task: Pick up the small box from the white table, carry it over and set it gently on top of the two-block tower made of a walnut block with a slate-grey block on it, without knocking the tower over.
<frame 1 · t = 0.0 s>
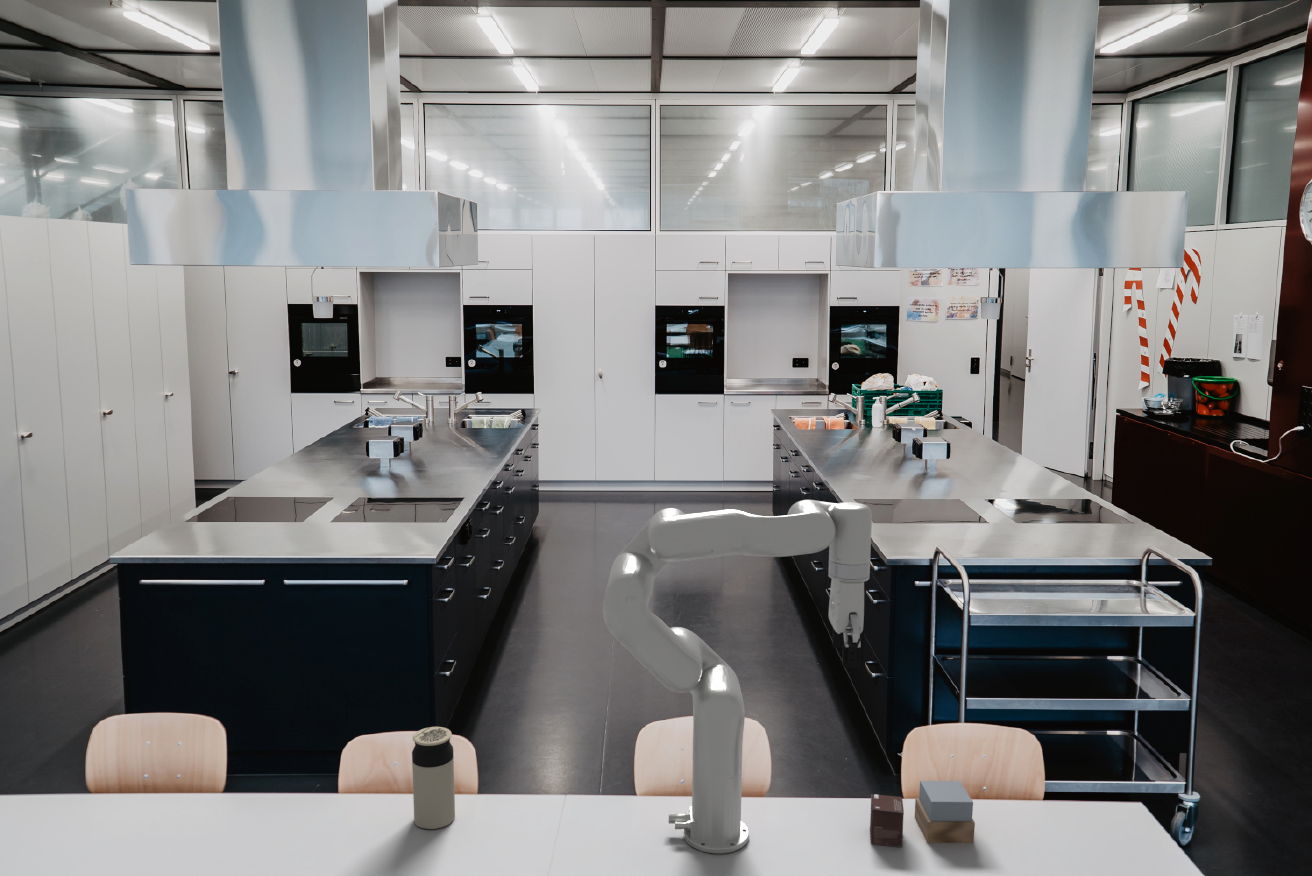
hand: (845, 656, 179), 37 cm above the table, tool pointing down, fingers open, 9 cm apart
travel mug: (434, 820, 190), on the table
box: (885, 838, 185), on the table
tower top: (944, 809, 187), point 4 cm above the table, touching tower base
tower base: (943, 830, 188), on the table, touching tower top
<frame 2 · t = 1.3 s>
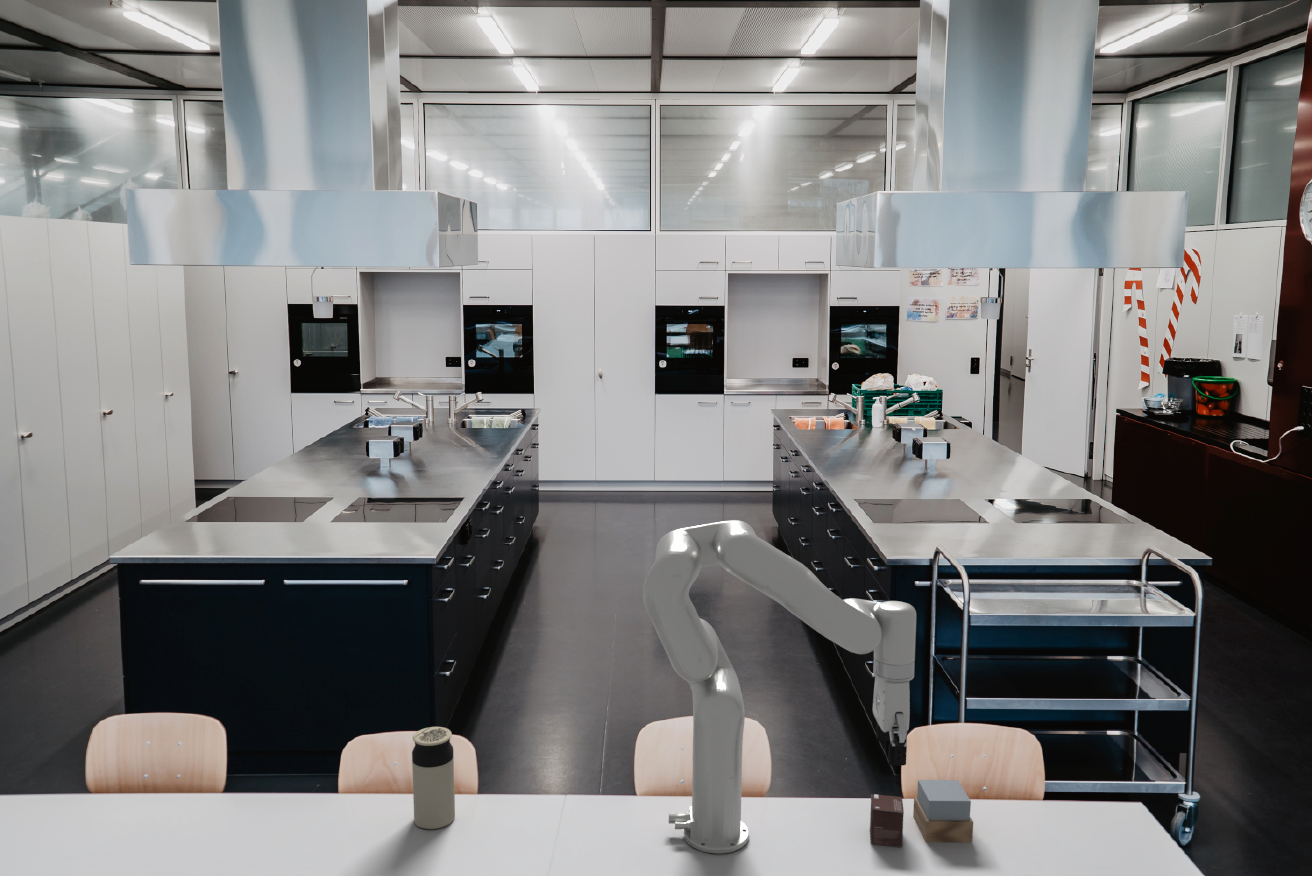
hand: (890, 752, 182), 18 cm above the table, tool pointing down, fingers open, 9 cm apart
nothing on the table moved.
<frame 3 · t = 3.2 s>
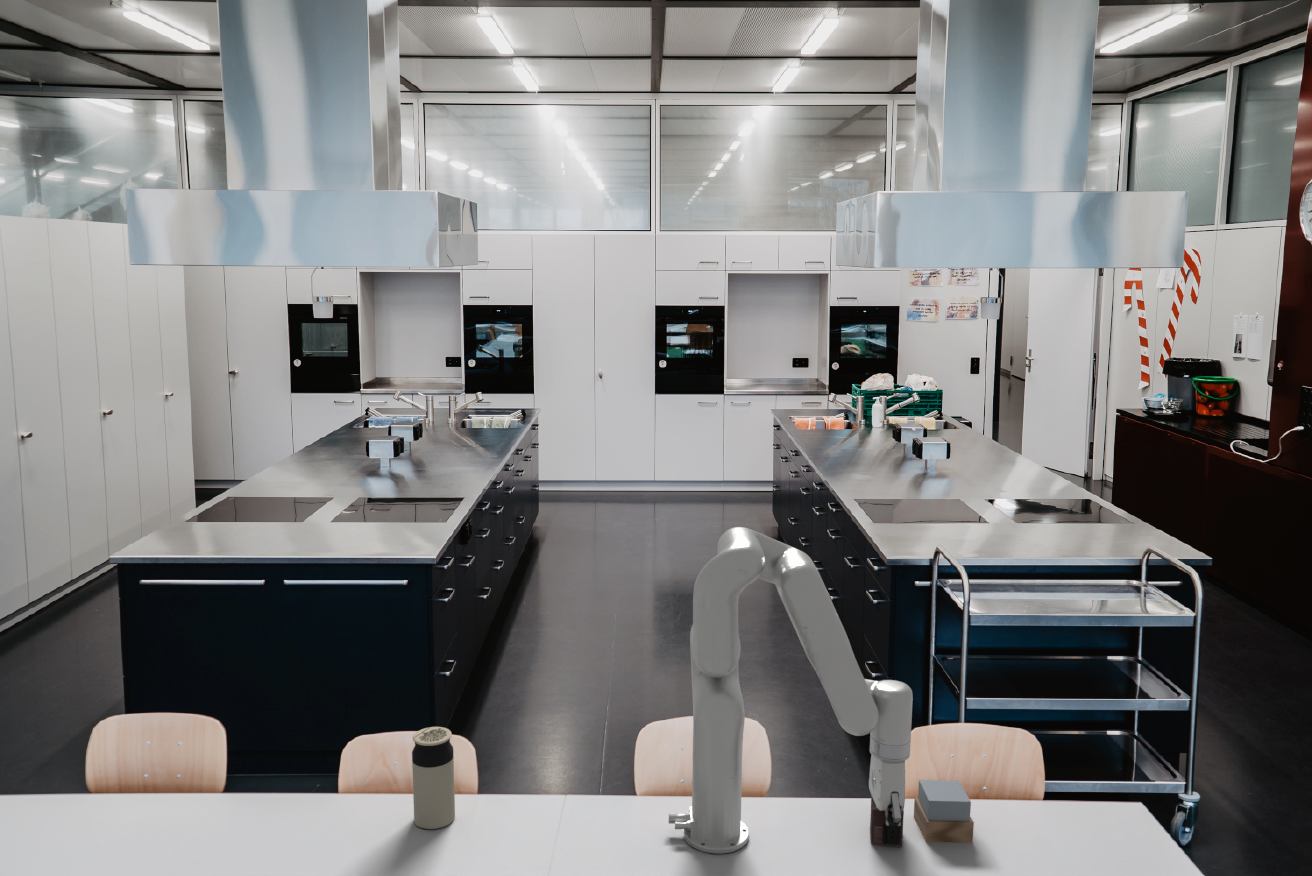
hand: (886, 831, 185), 1 cm above the table, tool pointing down, fingers closed on box, 6 cm apart
box: (885, 838, 185), on the table, touching gripper
everything else where it was.
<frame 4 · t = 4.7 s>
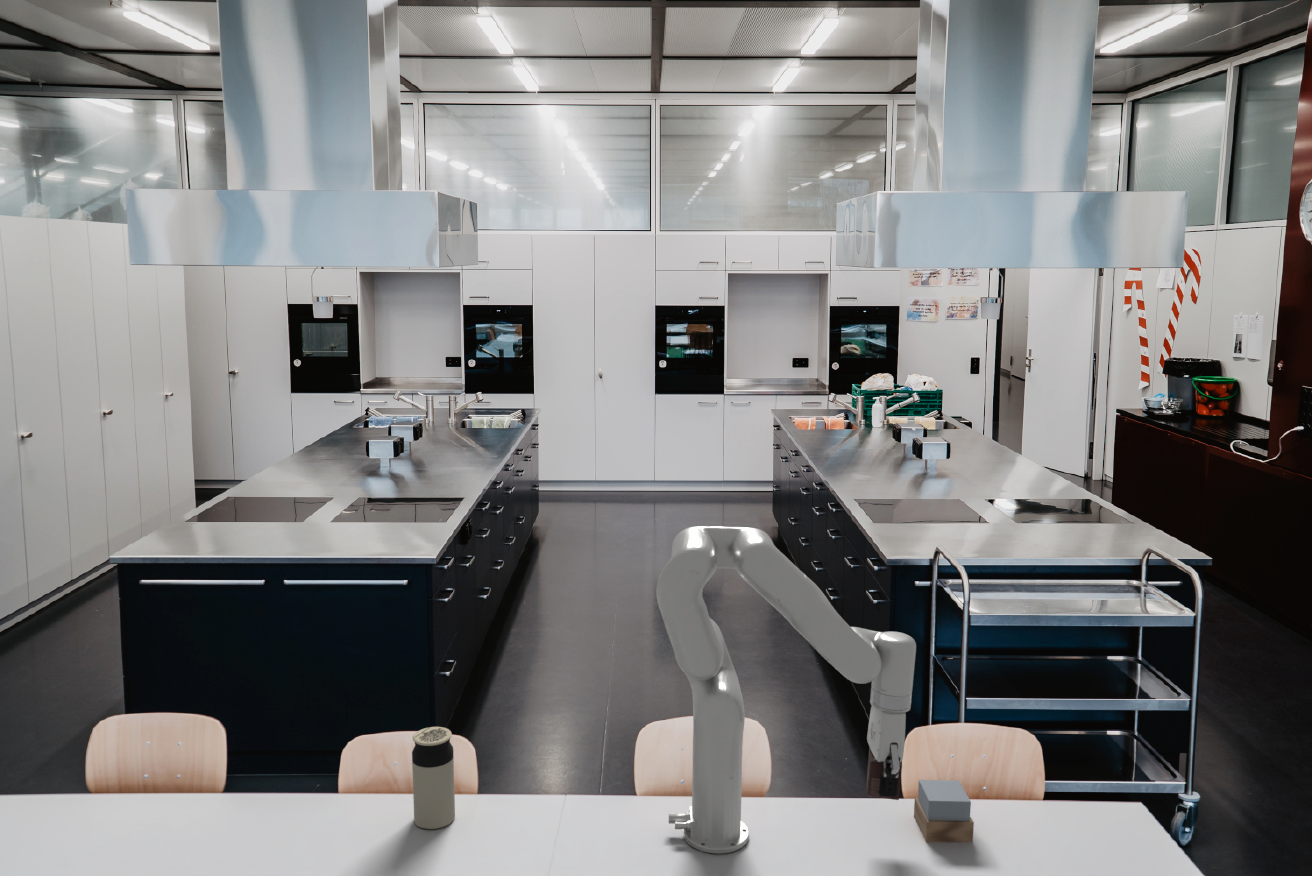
hand: (882, 784, 183), 11 cm above the table, tool pointing down, fingers closed on box, 6 cm apart
box: (882, 791, 183), point 9 cm above the table, touching gripper
everything else where it was.
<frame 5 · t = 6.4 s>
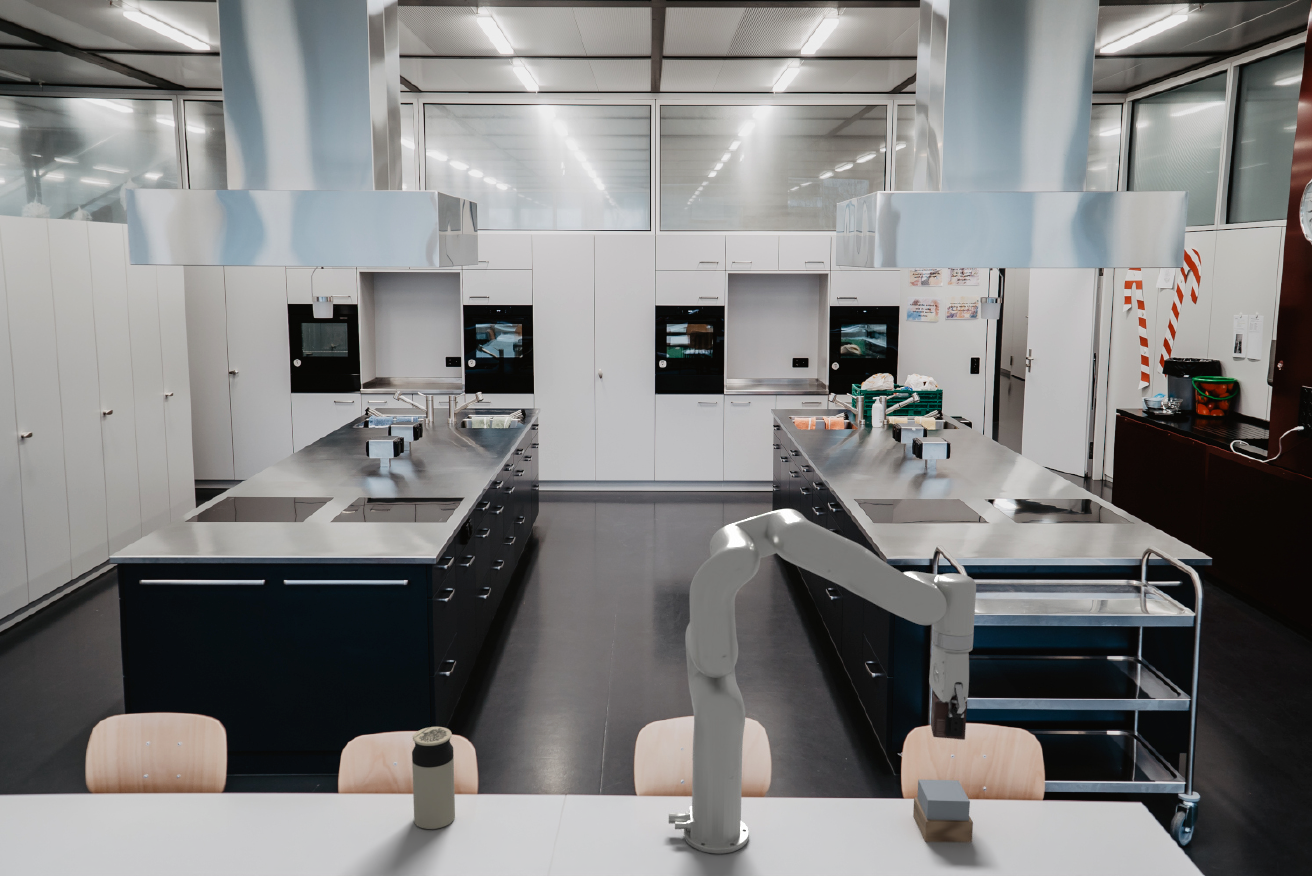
hand: (947, 725, 184), 22 cm above the table, tool pointing down, fingers closed on box, 6 cm apart
box: (947, 733, 185), point 20 cm above the table, touching gripper
everything else where it was.
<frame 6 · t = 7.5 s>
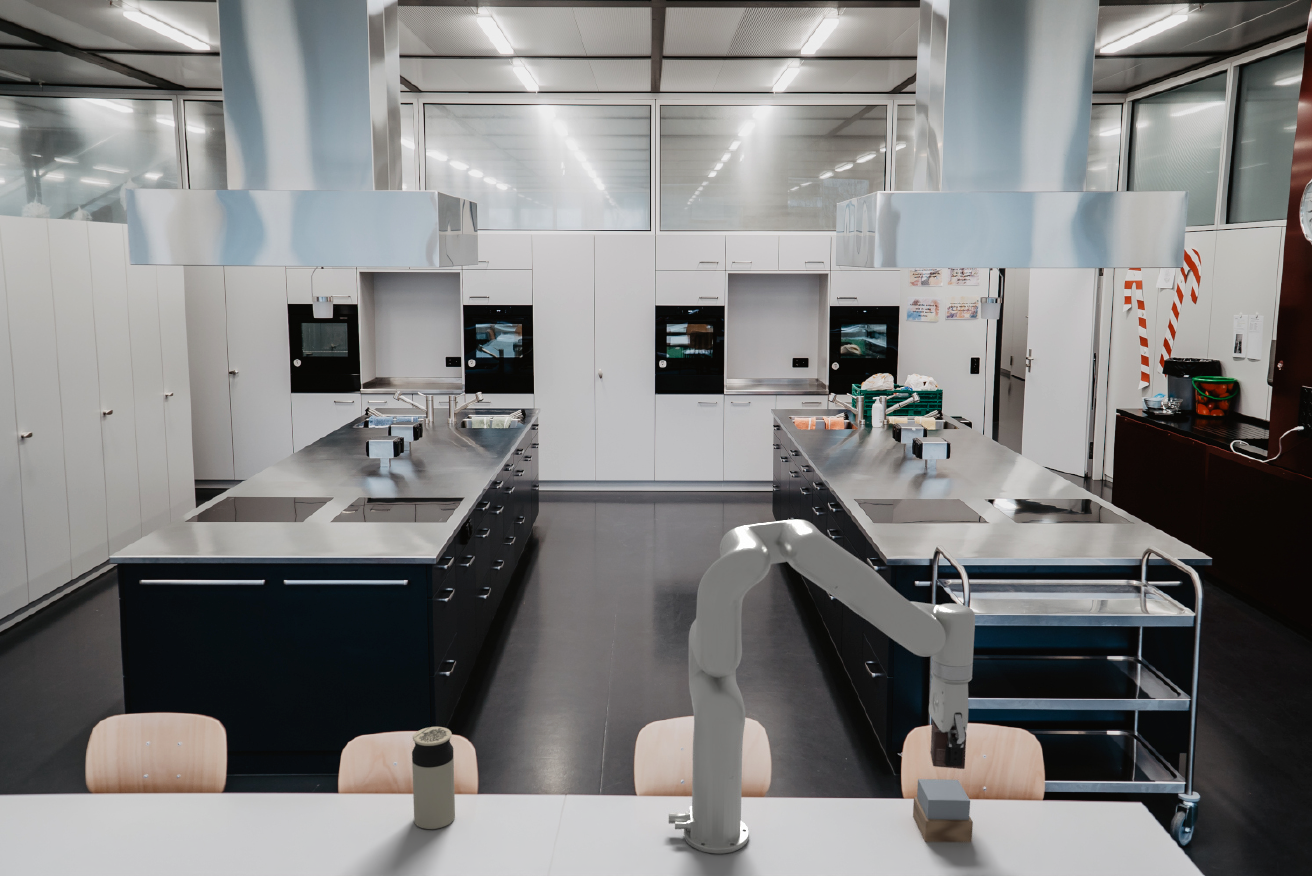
hand: (947, 754, 185), 16 cm above the table, tool pointing down, fingers closed on box, 6 cm apart
box: (947, 762, 186), point 14 cm above the table, touching gripper
everything else where it was.
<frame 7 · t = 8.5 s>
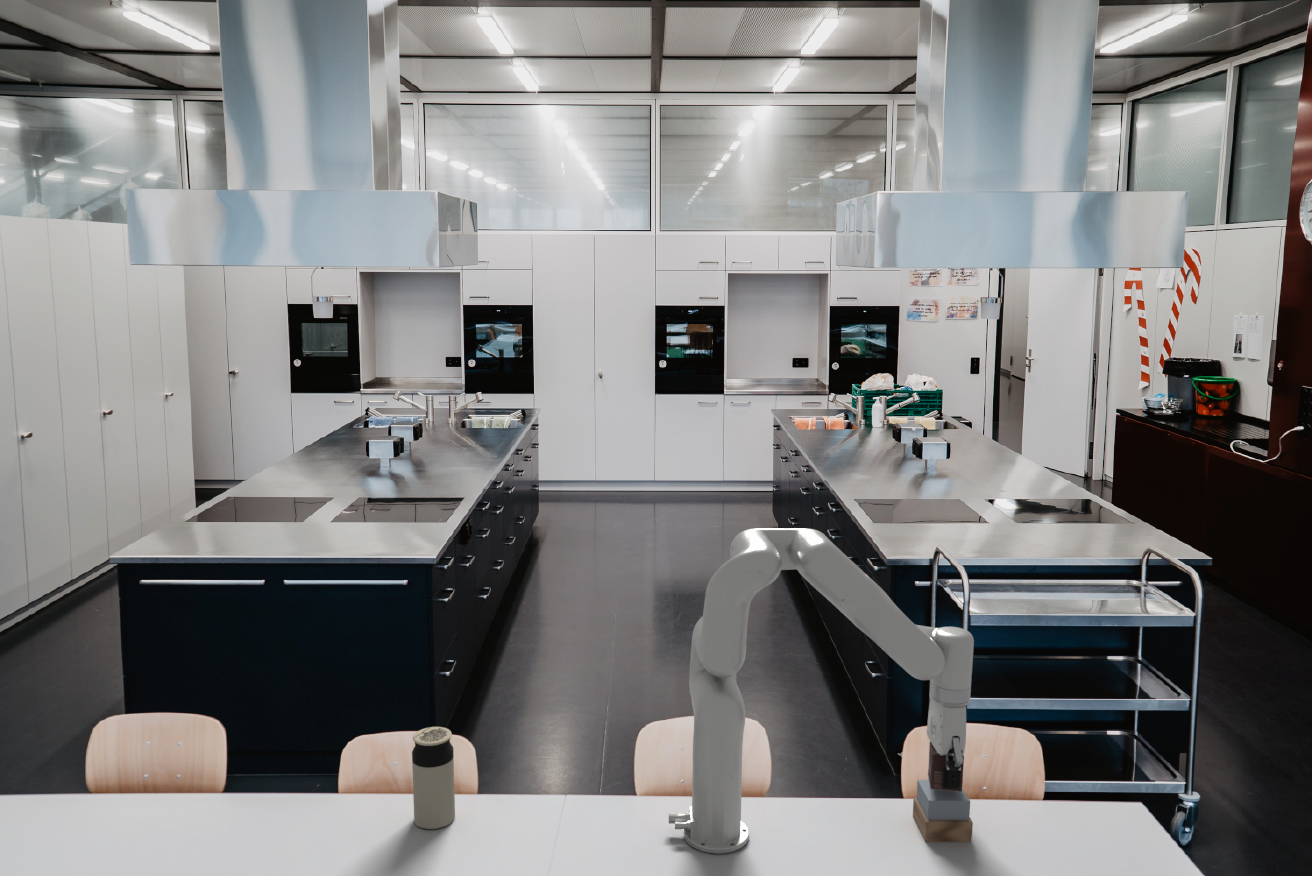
hand: (944, 777, 186), 11 cm above the table, tool pointing down, fingers closed on box, 6 cm apart
box: (944, 784, 186), point 10 cm above the table, touching gripper
everything else where it was.
when the fingers open (11 cm above the table, at t = 9.2 s): box drops 1 cm, resting on tower top.
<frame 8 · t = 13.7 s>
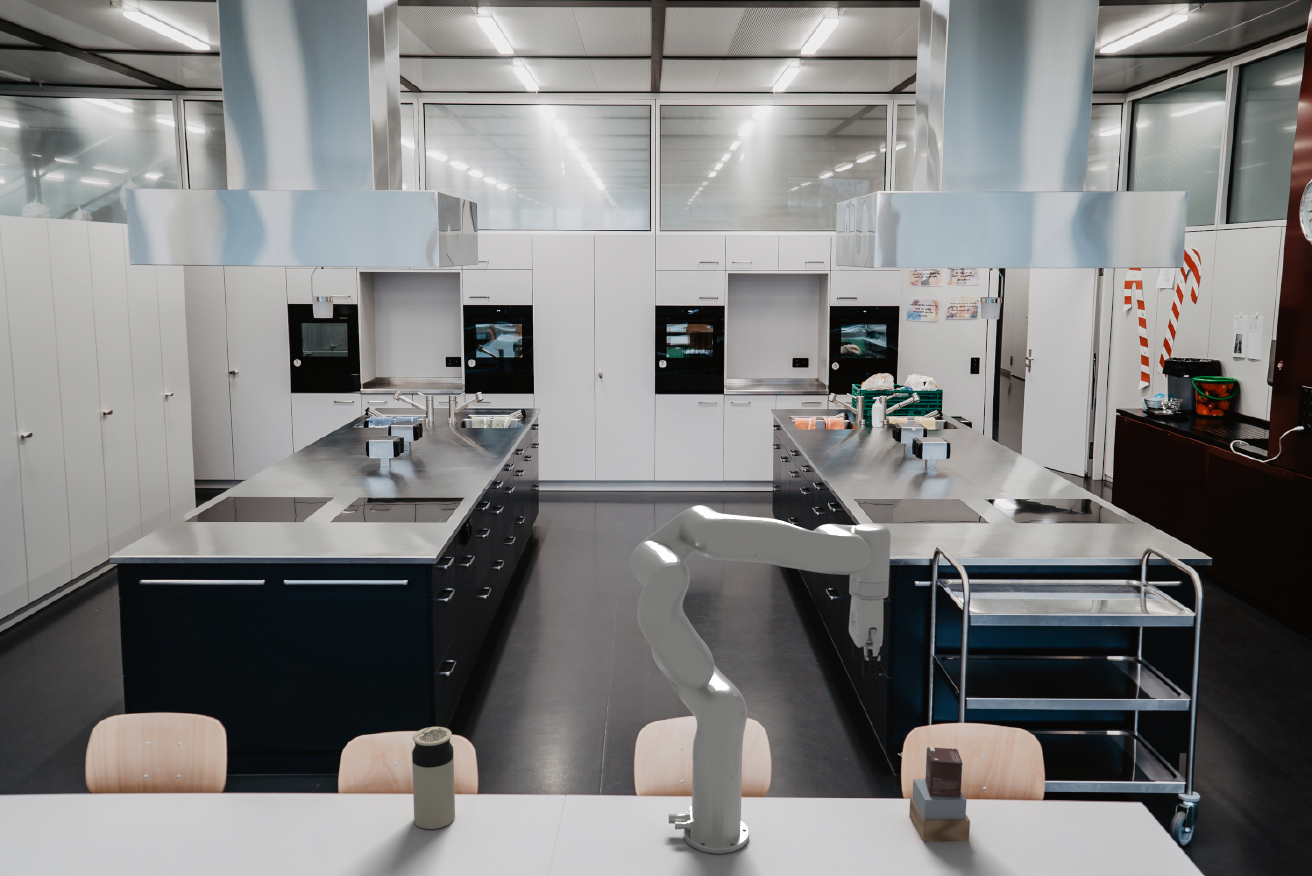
hand: (865, 669, 190), 30 cm above the table, tool pointing down, fingers open, 9 cm apart
box: (942, 790, 187), point 8 cm above the table, touching tower top
tower top: (938, 808, 188), point 4 cm above the table, touching box, tower base
everything else where it was.
at the end: box 0.6 cm off-centre on the tower top, point 3.8 cm above the tower top's base; tower top tilted 0°; tower base moved 1.0 cm from its start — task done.
